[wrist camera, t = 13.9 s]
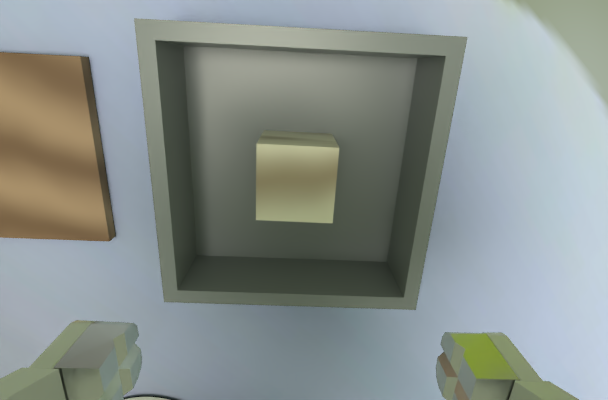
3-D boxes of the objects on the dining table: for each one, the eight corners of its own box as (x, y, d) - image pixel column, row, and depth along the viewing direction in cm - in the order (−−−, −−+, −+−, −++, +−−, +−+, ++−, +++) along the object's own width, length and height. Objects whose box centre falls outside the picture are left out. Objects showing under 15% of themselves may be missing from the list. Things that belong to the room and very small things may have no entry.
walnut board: (115, 235, 30) (109, 241, 29) (-56, 229, 29) (-68, 234, 28) (88, 57, 25) (80, 56, 24) (-118, 46, 24) (-134, 45, 23)
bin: (394, 266, 31) (415, 309, 25) (188, 259, 31) (164, 301, 25) (429, 44, 25) (467, 37, 19) (172, 30, 24) (134, 18, 19)
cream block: (326, 197, 28) (332, 223, 23) (263, 194, 28) (255, 220, 23) (331, 133, 26) (339, 147, 21) (264, 130, 26) (256, 143, 21)
